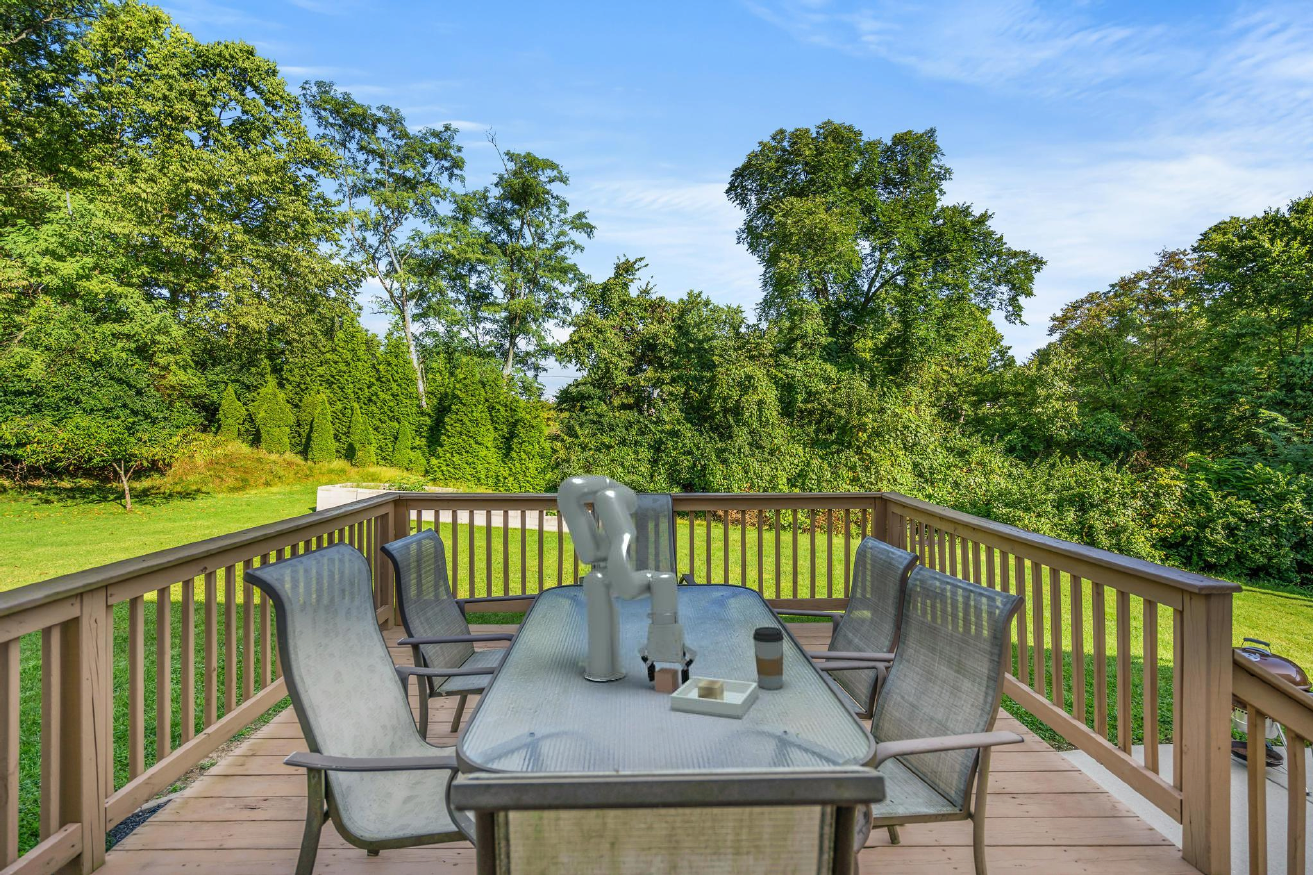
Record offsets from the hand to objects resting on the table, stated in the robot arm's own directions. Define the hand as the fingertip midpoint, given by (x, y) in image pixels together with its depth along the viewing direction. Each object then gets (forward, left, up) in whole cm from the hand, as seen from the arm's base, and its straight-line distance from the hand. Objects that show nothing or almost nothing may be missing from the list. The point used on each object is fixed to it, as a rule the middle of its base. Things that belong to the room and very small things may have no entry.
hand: (668, 681), depth 170 cm
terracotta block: (-1, 0, -2) cm, 2 cm away
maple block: (+15, -9, -1) cm, 18 cm away
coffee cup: (+25, +11, -2) cm, 28 cm away
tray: (+15, -6, -2) cm, 17 cm away
